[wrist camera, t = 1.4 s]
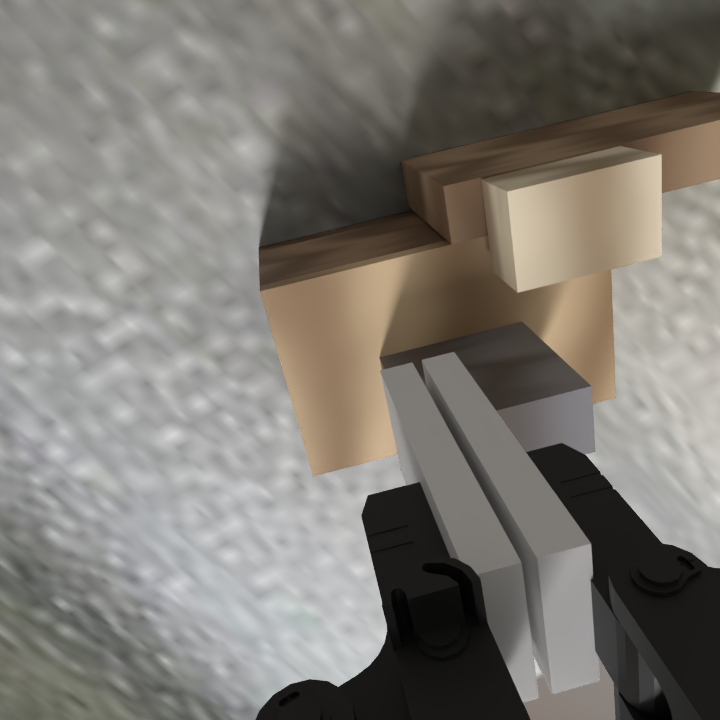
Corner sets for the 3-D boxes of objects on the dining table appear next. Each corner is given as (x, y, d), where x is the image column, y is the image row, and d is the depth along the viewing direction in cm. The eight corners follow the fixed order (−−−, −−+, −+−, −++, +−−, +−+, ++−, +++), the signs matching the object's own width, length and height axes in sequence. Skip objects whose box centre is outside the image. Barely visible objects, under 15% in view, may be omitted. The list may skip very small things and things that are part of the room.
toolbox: (302, 404, 40) (321, 532, 29) (244, 197, 34) (240, 257, 23) (705, 301, 41) (872, 386, 30) (711, 86, 35) (918, 93, 24)
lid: (311, 467, 33) (327, 574, 26) (260, 285, 29) (261, 354, 22) (608, 390, 34) (700, 473, 27) (599, 202, 30) (707, 243, 23)
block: (492, 271, 28) (517, 292, 26) (481, 179, 27) (507, 191, 24) (623, 239, 29) (661, 256, 26) (620, 146, 27) (661, 154, 24)
